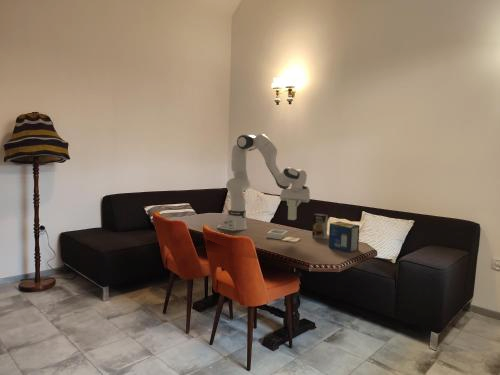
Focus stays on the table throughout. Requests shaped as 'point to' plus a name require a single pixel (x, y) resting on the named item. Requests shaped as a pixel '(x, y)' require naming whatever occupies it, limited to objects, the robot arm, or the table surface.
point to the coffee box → (320, 226)
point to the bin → (277, 234)
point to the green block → (292, 209)
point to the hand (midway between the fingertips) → (292, 205)
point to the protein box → (344, 236)
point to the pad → (291, 239)
